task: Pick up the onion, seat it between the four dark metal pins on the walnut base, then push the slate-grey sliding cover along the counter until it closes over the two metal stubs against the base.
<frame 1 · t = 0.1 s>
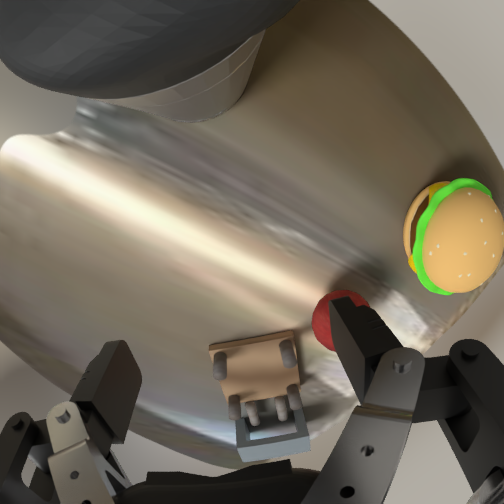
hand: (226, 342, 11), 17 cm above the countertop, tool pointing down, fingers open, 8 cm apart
housing: (272, 435, 35), point 3 cm above the countertop, slide at 0.0 cm
hamburger: (435, 225, 29), on the countertop
pin seat: (257, 368, 34), on the countertop
onion: (331, 300, 31), on the countertop
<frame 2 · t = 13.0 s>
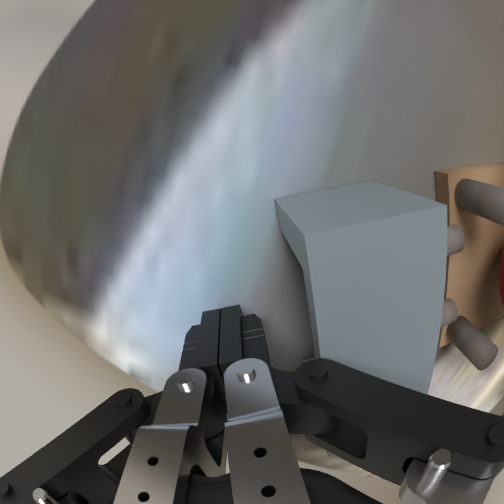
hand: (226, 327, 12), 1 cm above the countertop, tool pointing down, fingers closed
housing: (357, 321, 11), point 2 cm above the countertop, slide at 1.2 cm, touching gripper
pin seat: (494, 245, 13), on the countertop
onion: (502, 251, 12), point 1 cm above the countertop, touching pin seat
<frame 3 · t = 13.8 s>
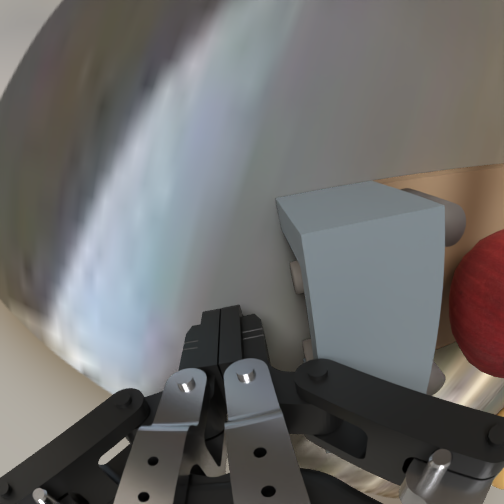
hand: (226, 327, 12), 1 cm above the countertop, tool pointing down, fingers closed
housing: (357, 320, 11), point 2 cm above the countertop, slide at 4.5 cm, touching gripper, pin seat
pin seat: (455, 259, 13), on the countertop
onion: (461, 266, 12), point 1 cm above the countertop, touching pin seat
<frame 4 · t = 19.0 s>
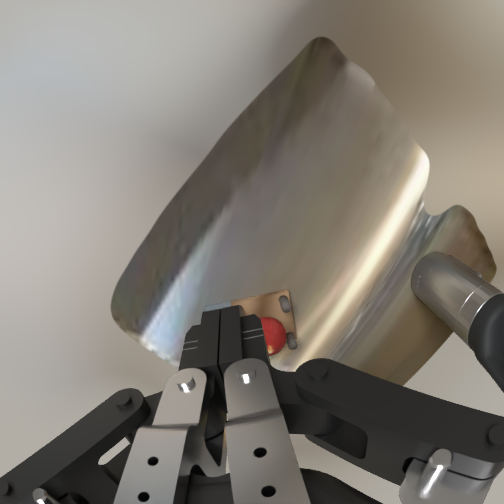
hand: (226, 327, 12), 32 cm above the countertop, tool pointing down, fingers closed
housing: (224, 336, 47), point 2 cm above the countertop, slide at 4.5 cm, touching pin seat
pin seat: (264, 319, 49), on the countertop
onion: (264, 322, 48), point 1 cm above the countertop, touching pin seat
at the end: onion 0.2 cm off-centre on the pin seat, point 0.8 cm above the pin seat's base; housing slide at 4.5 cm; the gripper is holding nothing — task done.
